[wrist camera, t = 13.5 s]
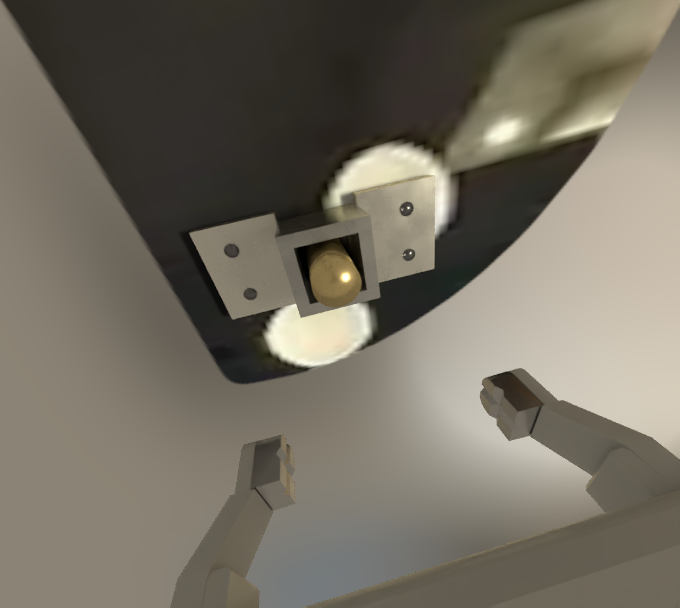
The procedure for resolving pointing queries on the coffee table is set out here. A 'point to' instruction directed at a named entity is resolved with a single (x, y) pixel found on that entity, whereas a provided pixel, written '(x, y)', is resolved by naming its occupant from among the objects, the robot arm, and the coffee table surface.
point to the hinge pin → (332, 273)
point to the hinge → (286, 235)
